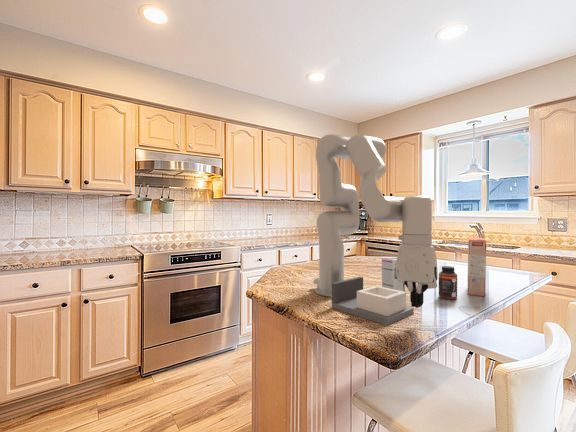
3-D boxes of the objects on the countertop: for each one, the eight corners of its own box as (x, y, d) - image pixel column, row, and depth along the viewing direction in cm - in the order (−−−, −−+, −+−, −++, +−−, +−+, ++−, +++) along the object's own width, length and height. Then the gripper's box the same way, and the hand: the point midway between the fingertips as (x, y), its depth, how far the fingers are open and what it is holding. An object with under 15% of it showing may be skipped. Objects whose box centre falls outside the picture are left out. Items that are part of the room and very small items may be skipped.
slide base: (331, 307, 97) (331, 283, 97) (359, 298, 106) (359, 276, 106) (387, 325, 82) (387, 296, 81) (413, 313, 91) (413, 287, 91)
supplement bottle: (459, 300, 104) (460, 268, 104) (441, 299, 105) (441, 268, 105) (453, 296, 110) (454, 265, 110) (436, 295, 111) (436, 265, 111)
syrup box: (394, 301, 104) (394, 259, 104) (381, 296, 109) (381, 257, 109) (405, 298, 107) (405, 258, 107) (392, 294, 112) (392, 256, 112)
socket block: (356, 307, 92) (356, 291, 92) (376, 300, 99) (376, 285, 99) (387, 316, 84) (387, 298, 84) (406, 308, 91) (406, 292, 91)
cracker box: (486, 297, 108) (487, 240, 108) (467, 295, 111) (467, 239, 111) (485, 289, 120) (485, 237, 120) (467, 287, 123) (468, 236, 123)
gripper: (385, 239, 86) (385, 302, 86) (438, 243, 74) (438, 316, 75) (398, 238, 91) (398, 298, 91) (450, 241, 79) (450, 309, 79)
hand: (416, 306), depth 83 cm, fingers closed
